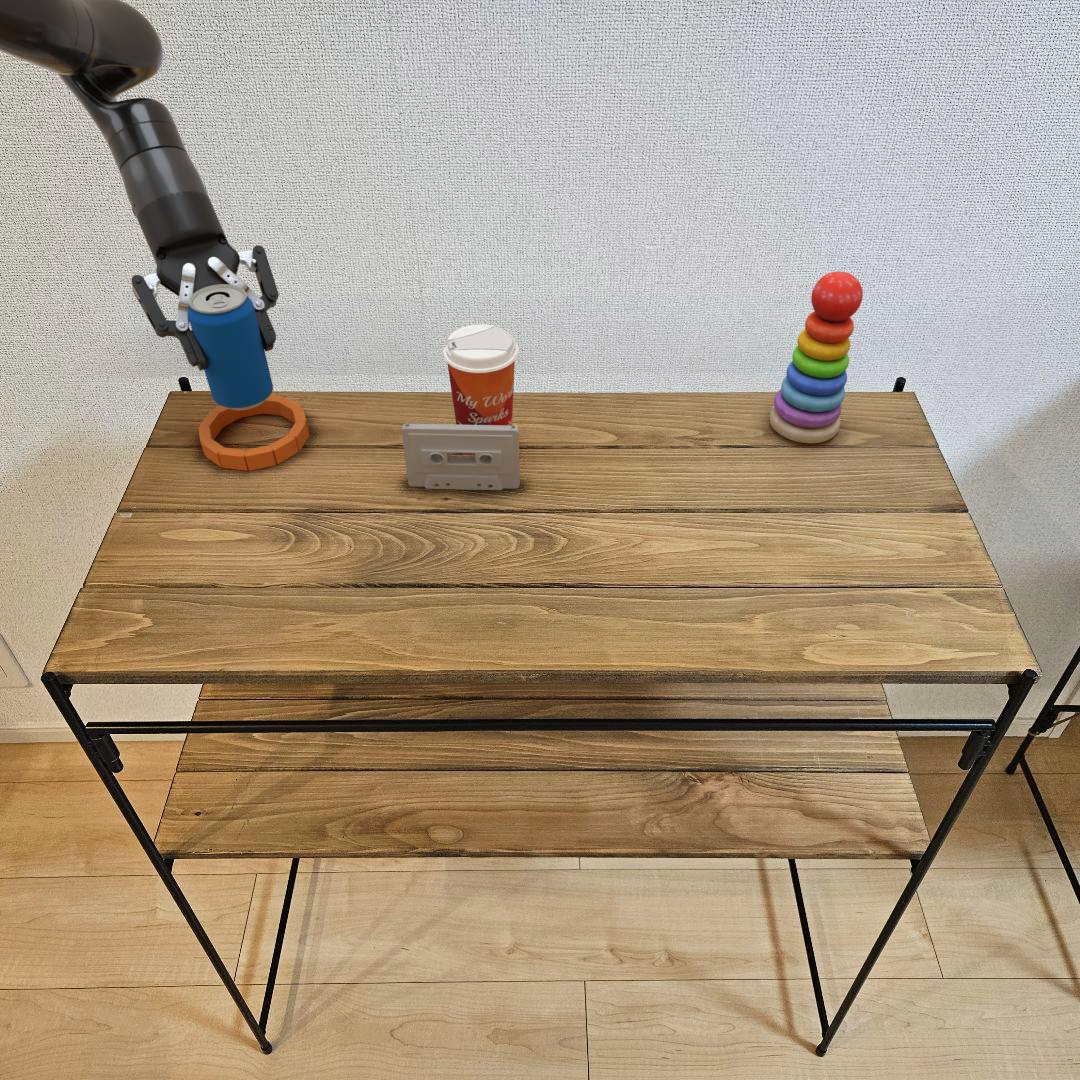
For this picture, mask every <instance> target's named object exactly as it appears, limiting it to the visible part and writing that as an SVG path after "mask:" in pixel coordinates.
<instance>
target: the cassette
mask: <svg viewBox="0 0 1080 1080" xmlns="http://www.w3.org/2000/svg"><path fill="white" fill-rule="evenodd" d="M401 438H402V448H403V454H404V460H405V468H406V469H405V470H406V478H407V483H408V486H409V487H413V488H414V487H416V488H425V490H462V491H463V490H466V491H467V490H468V491H502V490H503V489H509V490H511V489H514V490H515V489H516V490H517V489H519V488H520V486H521V469H520V429H519V427H518V426H517V425H512V426H505V425H456V424H451V423H450V424H447V423H446V424H445V423H443V424H442V423H441V424H440V423H404V424H403V425H402V427H401ZM461 453H475V455H462V454H461Z"/></svg>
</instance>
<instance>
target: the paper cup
mask: <svg viewBox="0 0 1080 1080" xmlns="http://www.w3.org/2000/svg"><path fill="white" fill-rule="evenodd" d="M519 352H520V348H519V345H518V343H517V342H516V339H515V338H514V337H513V336H512V335H511V334H510V333H509V332H508V331H507V330H505V329H504V328H501V327H499V326H497V325H493V324H484V323H483V324H481V323H477V324H470V325H466V326H463V327H460V328H458V329H456V330H455V331H453V332H452V333H451V334H450V335H449V336H448V338H447V340H446V345H445V346H444V347H443V351H442V355H443V359H444V361H445V362H446V364H447V370H448V377H449V385H450V392H451V397H452V405H453V411H454V419H455V425H505V426H513V412H514V411H513V409H514V408H513V407H514V388H515V364H516V359H517V358H518V356H519ZM460 455H475V453H460Z"/></svg>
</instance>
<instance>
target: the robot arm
mask: <svg viewBox="0 0 1080 1080" xmlns="http://www.w3.org/2000/svg"><path fill="white" fill-rule="evenodd" d="M145 17H146V16H145V15H144V14H143V13H142V12H140V11H139V10H138V9H137V8H136V7H133V6H132V5H130V4H129V3H128V2H125V1H122V0H0V52H1V53H5V54H7V55H9V56H11V57H14V58H17V59H19V60H22V61H24V62H26V63H28V64H31V65H34V66H36V67H40V68H42V69H45V70H47V71H50V72H53V73H55V74H57V75H58V76H59V78H60V79H61V81H62V82H63V83H64V85H65V86H66V87H67V88H68V90H69V91H70V92H71V93H72V94H73V95H74V97H75V98H76V99H77V100H78V101H79V103H80V104H81V106H82V107H83V108H84V109H85V111H86V112H87V113H88V115H89V116H90V118H91V119H92V121H93V122H94V123H95V125H96V127H97V128H98V129H99V131H100V133H101V134H102V136H103V138H104V140H105V142H106V143H107V145H108V148H109V151H110V154H111V155H112V157H113V160H114V162H115V164H116V168H117V170H118V172H119V173H120V176H121V178H122V183H123V186H124V189H125V192H126V196H127V198H128V202H129V203H130V207H131V211H132V213H133V215H134V217H135V218H136V219H137V222H138V225H139V227H140V229H141V232H142V233H143V236H144V238H145V241H146V243H147V245H148V247H149V250H150V252H151V255H152V256H153V259H154V262H155V265H156V271H155V272H153V273H149V274H148V275H145V276H142V275H141V274H134V275H133V276H132V277H131V287H132V289H131V291H132V292H133V294H134V296H135V298H136V299H137V301H138V303H139V305H140V307H141V309H142V311H143V312H144V314H145V316H146V318H147V320H148V322H149V323H150V326H151V327H152V329H153V331H154V333H155V334H156V336H157V337H159V338H166V337H172V338H176V339H177V340H178V341H179V342H180V345H181V347H182V350H183V352H184V355H185V357H186V359H187V361H188V363H189V365H190V366H191V367H192V368H194V367H197V368H198V371H200V372H201V371H204V370H205V369H207V362H206V360H205V357H204V355H203V353H202V350H201V348H200V346H199V343H198V341H197V339H196V337H195V335H194V333H193V330H192V329H190V321H189V317H188V309H189V306H190V305H189V299H190V297H191V295H193V294H194V293H195V292H196V291H198V290H200V289H202V288H205V287H208V286H212V285H220V284H229V285H235V286H238V287H241V288H242V289H244V290H245V292H246V295H247V296H248V297H249V298H250V299H251V301H252V302H253V305H254V309H255V313H256V317H257V321H258V326H259V330H260V334H261V338H262V342H263V346H264V351H265V352H269V351H272V350H273V349H274V345H275V343H276V340H277V333H276V330H275V329H274V326H273V324H272V321H271V319H270V316H269V315H268V311H269V310H270V309H271V308H274V307H275V306H276V305H277V301H278V299H279V296H280V294H279V290H278V287H277V283H276V281H275V278H274V274H273V271H272V269H271V265H270V262H269V259H268V255H267V253H266V250H265V248H264V247H263V246H262V245H258V244H257V245H254V246H253V248H252V249H249V250H244V251H237V250H236V249H235V248H233V246H232V245H231V244H230V243H229V240H228V238H227V236H226V234H225V231H224V229H223V226H222V224H221V222H220V220H219V217H218V215H217V212H216V210H215V208H214V205H213V203H212V200H211V199H210V196H209V194H208V191H207V189H206V187H205V184H204V182H203V179H202V178H201V175H200V173H199V172H198V170H197V168H196V166H195V165H194V163H193V160H192V159H191V157H190V155H189V153H188V151H187V149H186V146H185V144H184V141H183V139H182V137H181V134H180V132H179V130H178V126H177V124H176V123H175V120H174V118H173V116H172V114H171V112H170V111H169V109H168V108H167V107H166V105H165V104H163V103H162V102H161V101H159V100H157V99H154V98H150V97H135V98H128V99H124V100H123V99H122V100H119V101H118V99H117V98H118V96H119V95H122V94H124V93H126V92H128V91H129V90H131V89H133V88H135V87H137V86H139V85H141V84H143V83H144V82H146V81H148V80H150V79H152V78H153V77H154V76H156V75H157V74H158V73H159V71H160V70H161V68H162V65H163V61H164V49H163V44H162V41H161V38H160V36H159V34H158V32H157V30H156V29H155V27H154V26H153V24H152V23H151V22H150V20H148V18H145ZM151 24H152V25H151ZM153 27H154V28H153ZM155 30H156V31H155ZM240 265H243V266H245V267H246V268H247V271H249V272H250V273H255V277H256V281H257V283H258V286H259V289H260V293H261V295H260V296H258V295H257V294H256V292H255V293H254V292H253V291H252V290H251V288H250V287H249V286H248V284H247V283H246V282H244V281H243V280H242V279H241V278H240V277H239V276H238V270H239V267H240ZM159 285H161V286H162V287H163V288H165V289H167V290H168V291H169V292H171V293H172V294H174V295H176V296H177V297H178V303H177V304H178V305H177V313H176V320H170V319H169V320H168V319H167V318H166V317H165V314H164V312H163V311H162V309H161V307H160V305H159V303H158V302H157V299H156V298H157V297H158V294H159V293H158V286H159ZM217 294H221V295H226V294H227V293H226V292H216V293H212V294H210V295H208V296H207V297H206V300H208V299H210V297H212V296H214V295H217Z"/></svg>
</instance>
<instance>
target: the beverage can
mask: <svg viewBox="0 0 1080 1080" xmlns="http://www.w3.org/2000/svg"><path fill="white" fill-rule="evenodd" d="M216 292H226V293H227V294H226V295H221V294H217V295H214V296H212V297H210V299H208V300H206V297H207V296H208V295H210V294H212V293H216ZM189 305H190V306H189V309H188V317H189V321H190V323H189V325H190V327H191V330H193V333H194V335H195V337H196V339H197V341H198V343H199V346H200V348H201V350H202V353H203V355H204V357H205V360H206V362H207V369H205V370H203V371H204V374H205V377H206V380H207V384H208V387H209V391H210V394H211V397H212V400H213V402H214V403H215V404H217V405H218V406H222V407H226V408H228V409H232V410H247V409H251V408H254V407H257V406H259V405H260V404H262V403H263V402H264V401H265V400H266V399H267V398H268V397H269V396H270V395H272V394H273V391H274V384H273V380H272V376H271V371H270V367H269V363H268V359H267V355H266V351H265V350H264V346H263V342H262V338H261V334H260V330H259V326H258V321H257V317H256V313H255V309H254V305H253V302H252V301H251V299H250V298H249V297H248V296H247V295H246V292H245V290H244V289H242V288H241V287H238V286H235V285H229V284H220V285H212V286H208V287H205V288H202V289H200V290H198V291H196V292H195V293H194V294H193V295H191V297H190V299H189Z"/></svg>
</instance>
